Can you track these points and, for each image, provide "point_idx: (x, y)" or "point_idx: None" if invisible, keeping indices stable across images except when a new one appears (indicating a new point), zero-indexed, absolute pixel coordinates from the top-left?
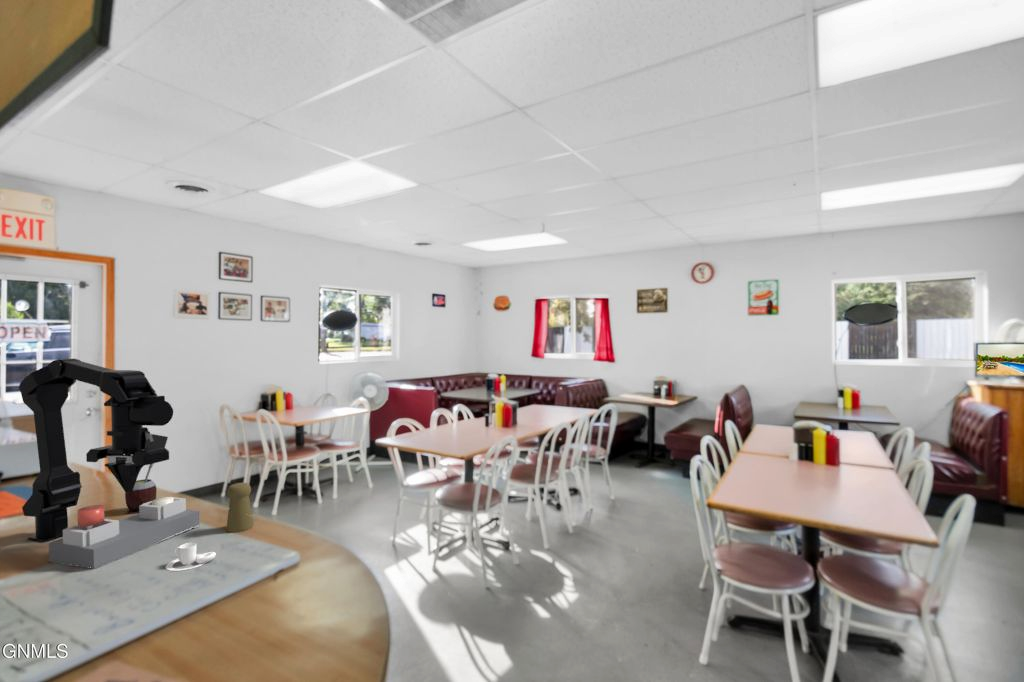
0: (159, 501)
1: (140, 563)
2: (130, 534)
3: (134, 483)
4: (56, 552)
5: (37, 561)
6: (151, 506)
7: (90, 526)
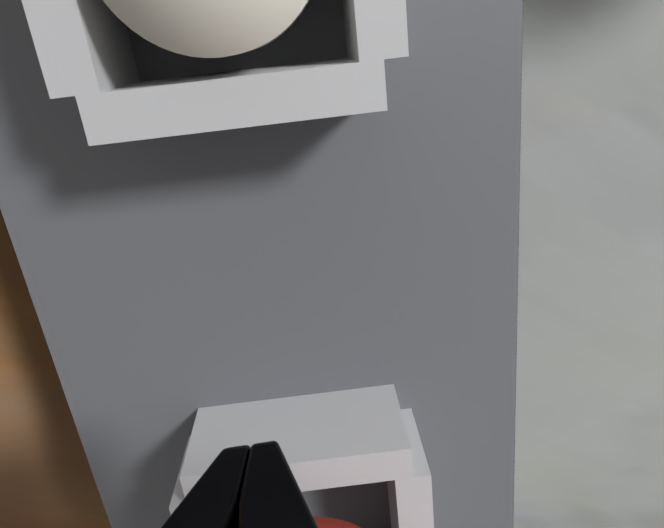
0: (247, 2)
1: (647, 357)
2: (484, 361)
3: (307, 514)
4: None
5: (102, 524)
6: (271, 113)
7: None
